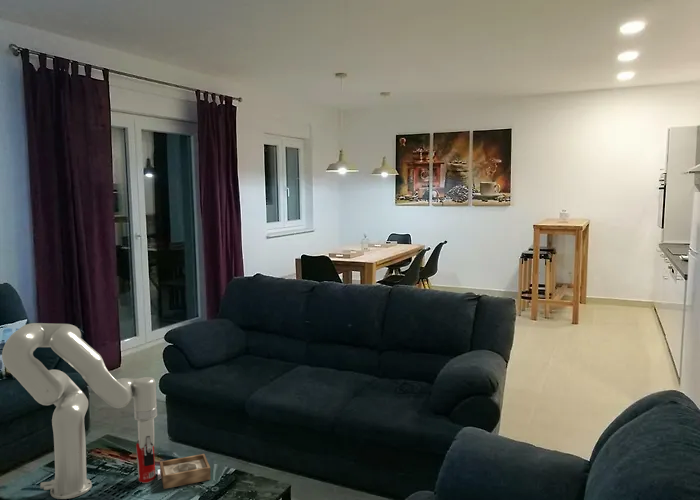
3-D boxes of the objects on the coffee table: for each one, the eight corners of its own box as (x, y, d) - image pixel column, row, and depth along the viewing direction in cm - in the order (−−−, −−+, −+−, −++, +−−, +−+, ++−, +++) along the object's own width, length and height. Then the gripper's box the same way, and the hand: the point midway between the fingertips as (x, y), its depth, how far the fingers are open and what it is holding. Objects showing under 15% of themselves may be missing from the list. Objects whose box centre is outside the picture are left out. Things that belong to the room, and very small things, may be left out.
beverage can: (158, 476, 196) (157, 436, 195) (150, 485, 190) (149, 443, 188) (142, 475, 197) (142, 435, 195) (133, 484, 190) (133, 442, 189)
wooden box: (163, 488, 187) (163, 476, 187) (160, 473, 198) (159, 461, 198) (210, 479, 194) (210, 467, 194) (204, 465, 205) (204, 453, 204)
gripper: (132, 406, 198) (135, 451, 199) (136, 423, 182) (138, 472, 183) (154, 403, 201) (156, 447, 202) (159, 419, 185) (161, 467, 186)
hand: (148, 459), depth 193 cm, fingers open, 9 cm apart
